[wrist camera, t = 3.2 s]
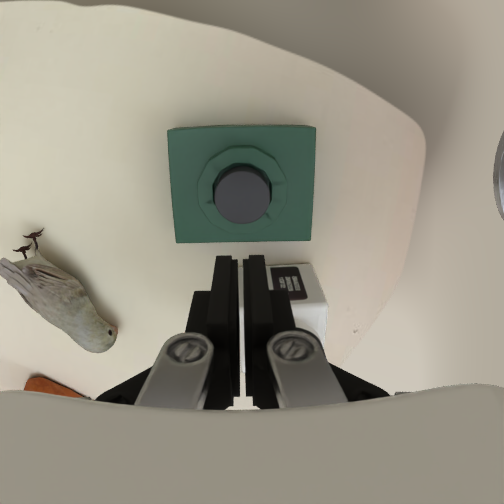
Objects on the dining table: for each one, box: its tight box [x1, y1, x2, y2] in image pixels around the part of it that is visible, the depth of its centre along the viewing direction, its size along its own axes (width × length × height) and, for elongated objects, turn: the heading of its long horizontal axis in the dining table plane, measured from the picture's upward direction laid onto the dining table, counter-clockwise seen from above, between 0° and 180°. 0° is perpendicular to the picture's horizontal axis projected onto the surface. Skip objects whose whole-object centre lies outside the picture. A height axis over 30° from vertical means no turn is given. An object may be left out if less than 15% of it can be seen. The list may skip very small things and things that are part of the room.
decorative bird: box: [0, 228, 118, 353], centre depth 30 cm, size 5×16×8 cm, turn 35°
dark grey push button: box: [214, 166, 270, 224], centre depth 24 cm, size 4×4×2 cm
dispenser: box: [167, 125, 316, 243], centre depth 27 cm, size 12×10×5 cm
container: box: [238, 264, 328, 373], centre depth 28 cm, size 8×8×13 cm
